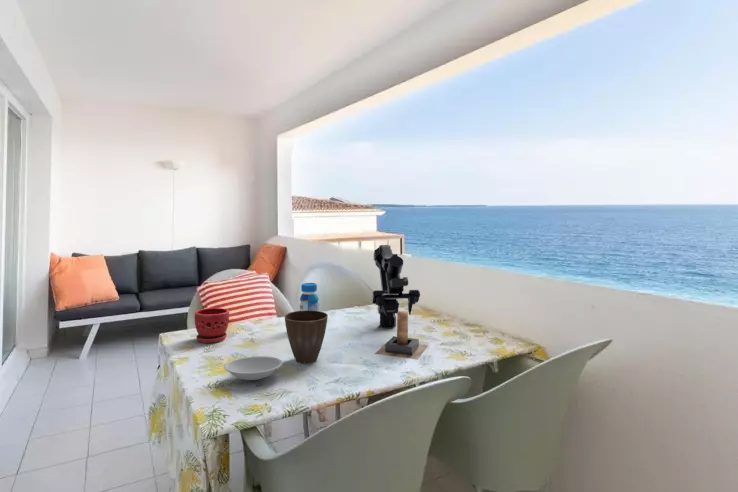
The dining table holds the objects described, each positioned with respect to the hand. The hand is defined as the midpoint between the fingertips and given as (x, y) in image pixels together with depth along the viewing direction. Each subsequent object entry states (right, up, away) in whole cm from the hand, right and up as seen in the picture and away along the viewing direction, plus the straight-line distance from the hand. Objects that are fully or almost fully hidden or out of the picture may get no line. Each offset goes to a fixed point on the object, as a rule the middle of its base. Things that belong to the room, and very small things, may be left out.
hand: (398, 314), depth 165 cm
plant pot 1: (-75, -11, +8) cm, 76 cm away
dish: (-47, -15, -32) cm, 59 cm away
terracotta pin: (+1, -12, -7) cm, 14 cm away
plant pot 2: (-33, -14, -15) cm, 39 cm away
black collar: (+1, -12, -7) cm, 14 cm away
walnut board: (+1, -13, -7) cm, 14 cm away
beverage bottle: (-38, -10, +24) cm, 46 cm away
